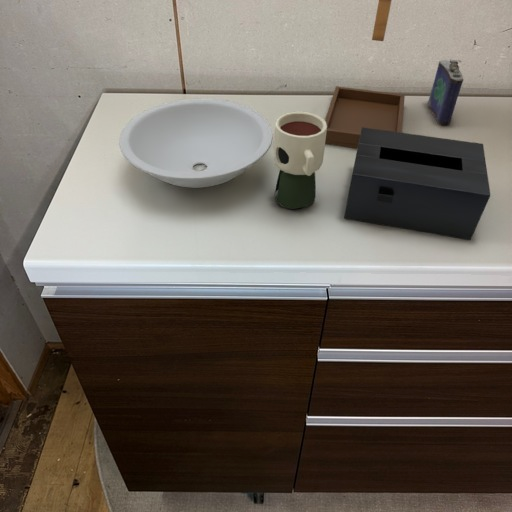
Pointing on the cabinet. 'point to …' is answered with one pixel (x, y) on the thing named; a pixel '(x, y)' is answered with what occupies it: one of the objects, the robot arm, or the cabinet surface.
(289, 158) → the character mug
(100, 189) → the cabinet surface
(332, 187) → the cabinet surface
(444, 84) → the flask
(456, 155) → the toaster
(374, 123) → the tray
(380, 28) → the toast
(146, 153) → the white bowl
